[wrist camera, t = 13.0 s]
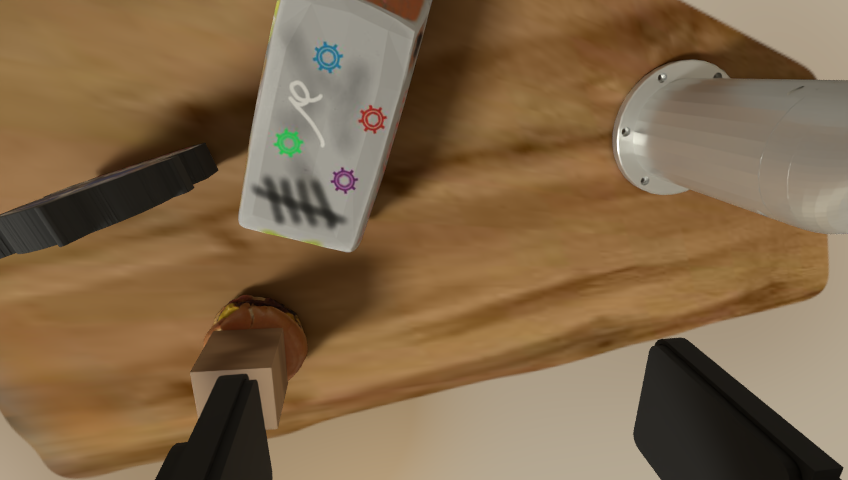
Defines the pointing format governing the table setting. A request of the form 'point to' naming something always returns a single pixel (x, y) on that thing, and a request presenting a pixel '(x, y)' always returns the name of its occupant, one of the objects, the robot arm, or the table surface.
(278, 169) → the toy car
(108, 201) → the decorative emblem
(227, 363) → the light brown cube
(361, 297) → the table surface
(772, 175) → the robot arm
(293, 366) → the burger
